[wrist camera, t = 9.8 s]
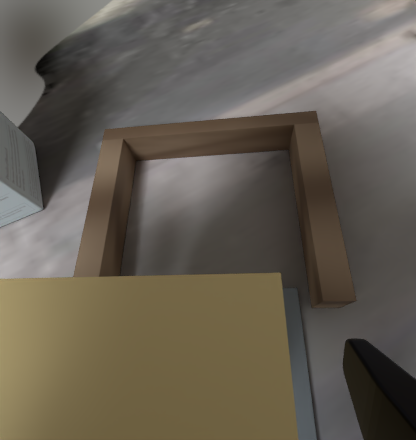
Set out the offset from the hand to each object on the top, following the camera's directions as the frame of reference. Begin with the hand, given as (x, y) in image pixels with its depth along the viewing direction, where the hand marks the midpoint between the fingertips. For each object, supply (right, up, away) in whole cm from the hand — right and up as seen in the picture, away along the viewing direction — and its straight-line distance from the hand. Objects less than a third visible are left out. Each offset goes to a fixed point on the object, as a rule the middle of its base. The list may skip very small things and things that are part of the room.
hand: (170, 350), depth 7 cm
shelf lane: (+1, +3, +11) cm, 11 cm away
